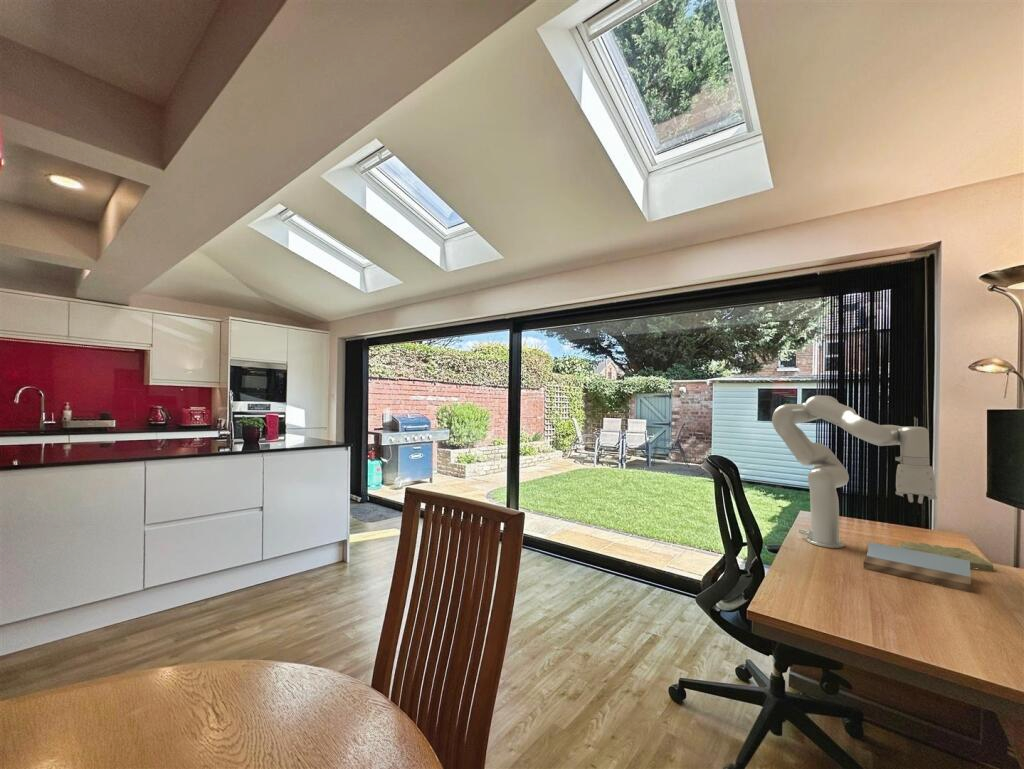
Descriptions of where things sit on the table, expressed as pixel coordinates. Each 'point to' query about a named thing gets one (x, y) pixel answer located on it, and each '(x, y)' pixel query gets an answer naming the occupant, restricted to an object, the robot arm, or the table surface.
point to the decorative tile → (949, 553)
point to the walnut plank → (919, 573)
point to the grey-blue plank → (920, 559)
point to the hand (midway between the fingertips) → (916, 513)
